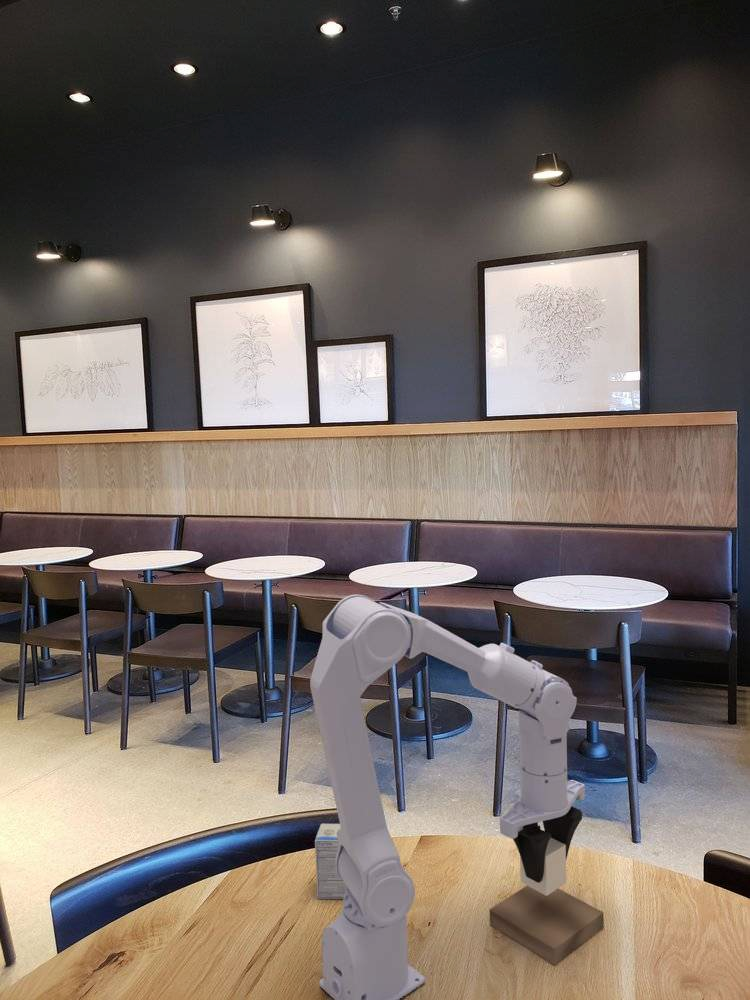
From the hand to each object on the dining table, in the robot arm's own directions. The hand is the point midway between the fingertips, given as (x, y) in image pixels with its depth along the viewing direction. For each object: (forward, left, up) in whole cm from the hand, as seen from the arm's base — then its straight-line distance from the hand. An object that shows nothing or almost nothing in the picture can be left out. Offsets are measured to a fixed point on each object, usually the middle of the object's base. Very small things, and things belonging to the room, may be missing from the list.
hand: (545, 871), depth 92 cm
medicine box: (-14, +23, -8) cm, 28 cm away
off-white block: (0, 0, -2) cm, 2 cm away
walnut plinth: (0, 0, -7) cm, 7 cm away
